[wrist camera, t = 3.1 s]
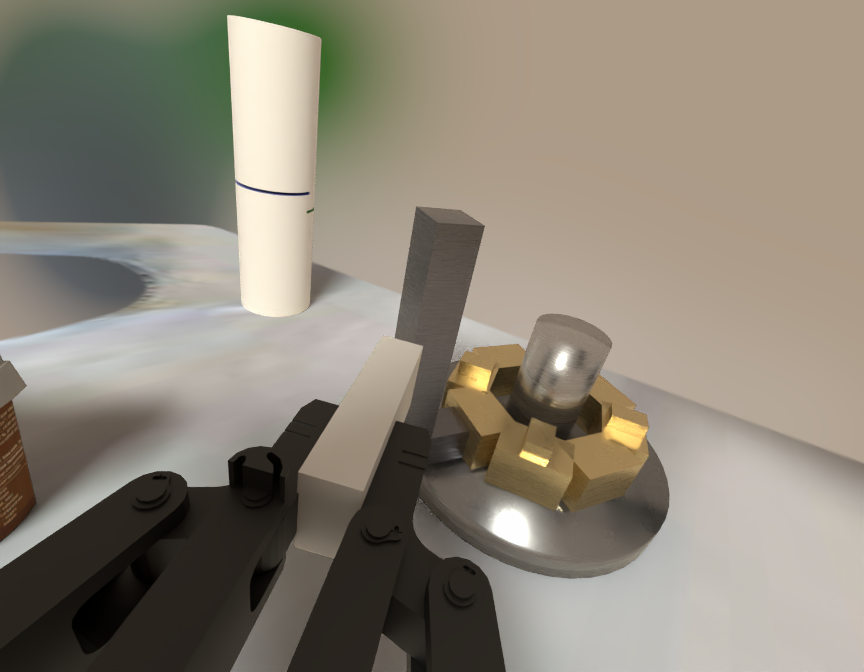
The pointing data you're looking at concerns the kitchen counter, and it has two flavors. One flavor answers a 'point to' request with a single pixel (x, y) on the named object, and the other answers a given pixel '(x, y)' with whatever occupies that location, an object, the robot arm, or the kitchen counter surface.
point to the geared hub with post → (501, 388)
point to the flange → (561, 529)
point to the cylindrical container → (274, 161)
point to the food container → (12, 456)
